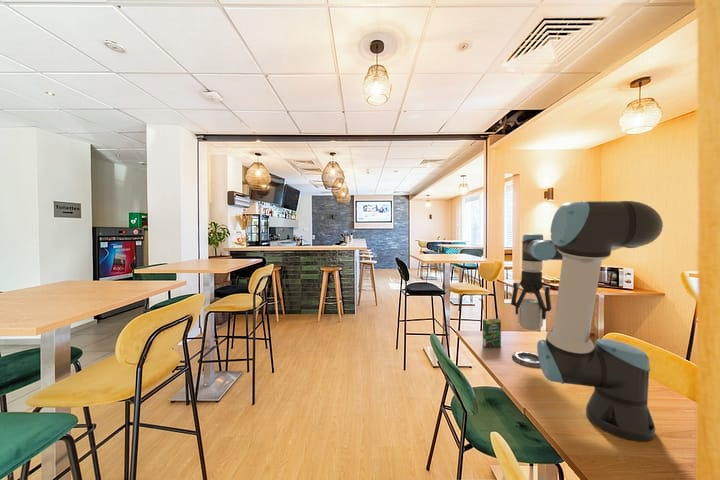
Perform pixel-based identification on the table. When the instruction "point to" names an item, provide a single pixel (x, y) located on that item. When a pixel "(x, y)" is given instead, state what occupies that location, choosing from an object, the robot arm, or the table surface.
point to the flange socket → (527, 359)
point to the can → (530, 314)
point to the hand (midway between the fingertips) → (530, 324)
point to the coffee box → (491, 333)
